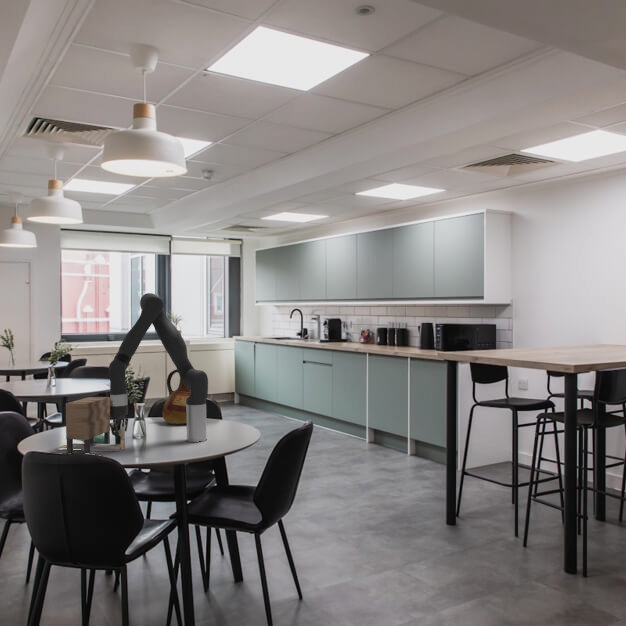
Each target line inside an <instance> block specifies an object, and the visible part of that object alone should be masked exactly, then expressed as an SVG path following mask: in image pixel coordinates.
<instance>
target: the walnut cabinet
mask: <svg viewBox="0 0 626 626" xmlns="http://www.w3.org/2000/svg"><path fill="white" fill-rule="evenodd" d="M110 423H111V415H110V396H89V397H84V398H81V399H77V400H73V401H70V402H66V403H65V434H66V435H65V436H66V445H67V450H66V454H67V453H72V452H73V453H74V450H73V444H74V440H79V441H81V440H82V441H83V444H84V451H83V454H84V453H90V454H91V451H90V444H95V442H94V437H96V436H98V435H101V434H104V444H111V428H110Z"/></svg>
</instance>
